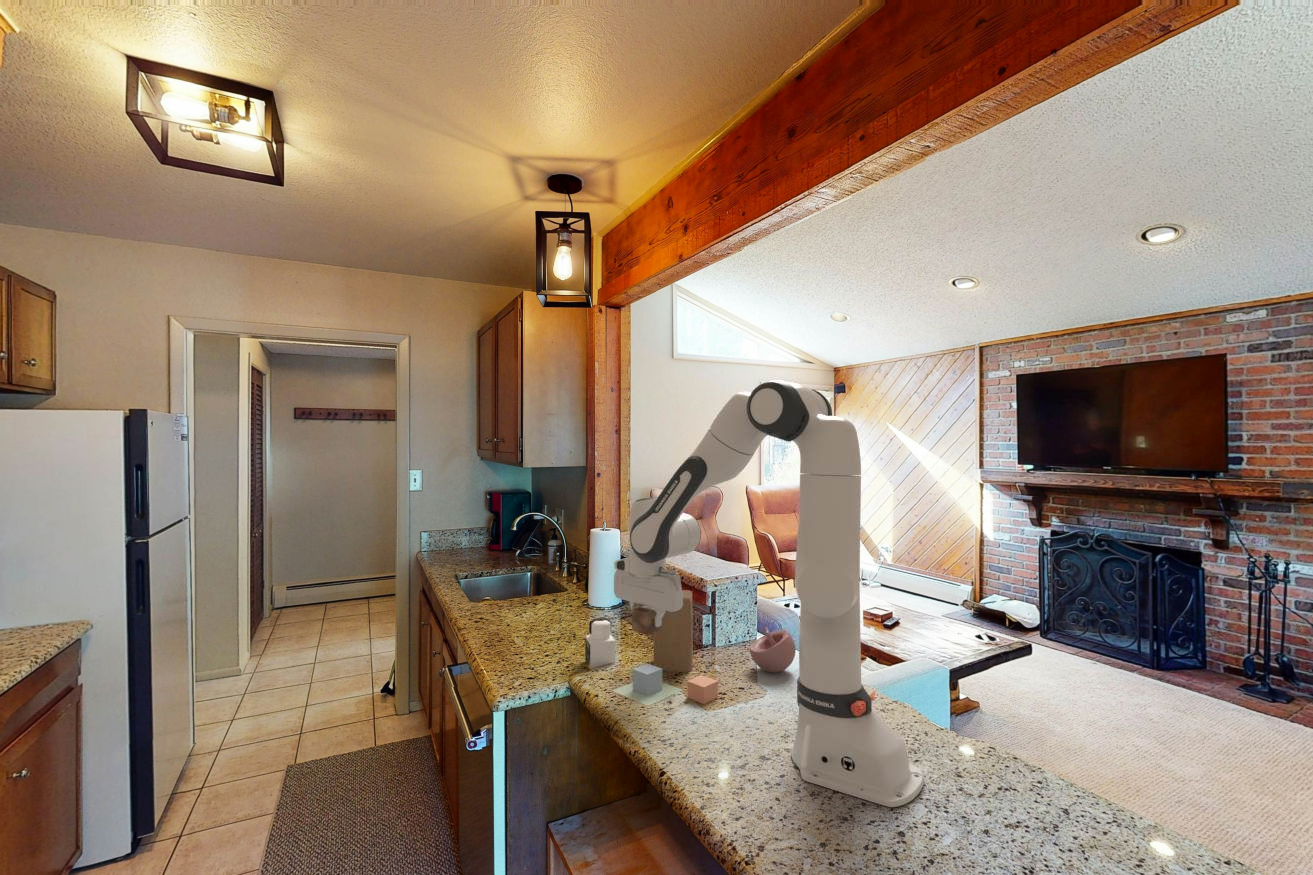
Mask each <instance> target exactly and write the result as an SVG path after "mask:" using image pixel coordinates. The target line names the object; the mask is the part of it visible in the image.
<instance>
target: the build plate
mask: <svg viewBox="0 0 1313 875" xmlns="http://www.w3.org/2000/svg"><path fill="white" fill-rule="evenodd" d="M682 691H683V689H682V688H680V687H676V686H673V685H670V684H669V683H665V682H663V681H662V690H661V691H659V692H657V693H655V694H652V695H650V696H648V697H647V696H645V695H642V694H640V693H638V692H635V691H633V681H631V682H630V683H627V684H625V685H622V686H620V687H617V688H615V689H613V690H611V692H614V693H616V694H618V695H621V696H622V697H624V698H625V697H626V698H627V699H630V700H632V701H635V702H637V703H640V704H642V705H644V706H646V707H649V706H651V705H653V704H655V703H657V702H660V701H662V700H665V699H666V698H669V697H671V696H674V695H675V694H678V693H680V692H682Z"/></svg>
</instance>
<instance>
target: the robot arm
mask: <svg viewBox="0 0 1313 875" xmlns="http://www.w3.org/2000/svg"><path fill="white" fill-rule="evenodd" d="M768 436H770V437H771V438H772V437H774V438H777V439H779V440H782V441H784V442H789V443H790V442H792V441H793V443H795V444H796V445H797V448H798V449H799V456H800V462H799V464H800V467H799V470H800V471H799V506H798V507H799V508H798V509H799V510H798V512H799V514H798V526H797V538H796V552H795V553H796V554H795V555H796V556H795V572H794V587H795V592H796V595H797V597H798V599H799V601H800V612H799V613H800V615H799V630H798V631H799V633H798V656H799V657H798V658H799V659H798V660H799V661H798V662H799V663H798V664H799V666H798V667H799V669H798V671H799V674H798V675H799V676H798V677H797V680H796V682H797V683H796V684H797V685H796V701H797V706H798V718H797V725H796V726H797V727H796V733H795V739H794V742H793V747H792V749H791V759H792V762H793V763H794V765H796V767H797V768H798V769H799V773H800V777H801V778H802V780H803V781H805V782H808V783H811V784H815V785H818V786H821V787H823V788H824V787H825V788H827V789H830V790H833V791H836V792H840V793H843V794H846V795H849V796H852V797H856V798H858V799H862V800H864V801H865V800H866V801H869V802H872V803H875V804H878V805H881V806H884V807H888V808H895V807H897V808H898V807H901V806H903V805H904V806H905V805H906V804H908V803H911V801H912V800H914V799H915V798H916V797H917V796H918V795H919V793H920V792H921V791H922V789H923V786H924V775H923V771H922V770H921V768H920V767H918V766H915V765H914V764H912V763H910V761H909V756H908V750H907V746H906V743H905V741H904V740H903V738H902V737H901V736H900V734H898V733H897V731H894V729H892V727H890V725H889V724H888V723H887V722H885V721H884V720H883V718H881V717H880V716H879V715H878V714H877V712H875V711H874V710H873V708H872V707H873V706H872V704H873V703H872V702H873V701H874V700H875V699H876V697H875V695H876V692H875V691H873V692H872V693H871V694H869V693H868V692H867V691H866V689H865V687H864V685H863V683H862V654H861V653H862V651H861V650H862V646H861V644H862V643H861V603H860V602H861V599H860V598H861V597H860V596H861V595H860V594H861V593H860V592H861V591H860V590H861V588H860V582H861V581H860V576H861V570H860V569H861V567H860V566H861V565H860V564H861V562H860V561H861V509H862V507H861V506H862V505H861V504H862V503H861V500H862V499H861V498H862V497H861V496H862V495H861V494H862V493H861V492H862V489H861V488H862V463H861V460H862V458H861V451H860V442H859V437H858V432H857V429H856V427H855V424H853V423H852V422H851V421H850V420H848V419H847V418H843V417H841V416H836V415H833V410H832V406H831V403H830V401H829V400H828V398H827V397H826V396H824V395H823V394H822V392H819V391H818V390H816V389H812V388H810V387H809V388H808V387H806V386H805V385H803V384H801V383H798V382H797V383H795V382H792V381H791V382H790V381H785V380H780V379H779V380H778V379H777V380H775V379H774V380H768V381H766V382H763V383H761V384H759V385H758V386H756V387H755V388H754V389H753V390H752V391H751V392H748V391H741V392H737V393H735V394H733V395H732V396H731V398H730V399H729V400H728V401H727V402H726V404H725V405H724V406H723V407H722V408H721V410H720V411H719V412H718V413H717V415H716V417H715V418H714V420H713V422H712V423H711V425H710V426H709V428H708V430H707V431H706V433H705V435H704V436H703V437H702V440H701V441H700V443H698V445H697V446H696V448H695V449H694V450H693V452H692V453H691V454H690V455H689V457H687V459H685V460H684V461H683V462H682V463H681V465H680V466H679V467H678V469H677V470H676V471H675V472H674V474H673V475H672V476H671V478H670V479H669V481H668V482H667V484H666V485H665V486H664V488H663V489H662V490H661V492H660V493H659V495H658V496H653V497H652V496H651V497H644V498H640V499H639V498H638V499H637V500H635V501H634V502H633V503H632V505H631V507H630V512H629V519H628V520H629V524H628V536H629V542H630V544H629V545H630V547H629V549H628V556H627V557H625V558H622V559H617V560H615V561H614V564H613V565H614V569H615V572H614V575H613V593H614V596H615V598H617V599H620V600H623V601H626V602H627V601H628V602H629V608H630V610H631V611H632V609H635V608H638V607H639V606H640V605H643V606H650V607H654V608H655V612H656V613H657V614H656V617H655V618H653V619H652V622H653V623H652V625H653V626H655V627H660V626H661V625H662V617H663V616H664V614H665V612H666V611H669V612H674V611H678V610H680V609H681V608H682V606H683V596H682V590H683V589H682V583H681V582H682V581H681V576H680V575H679V573H678V572H677V571H676V570H675V569H669V568H666V567H667V566H666V565H667V564H666V562H667V561H666V560H667V559H670V558H674V557H678V556H681V555H686V554H689V553H691V552H693V551H695V550H696V549H698V547H699V545H700V542H701V539H702V531H701V530H702V529H701V527H700V524H699V522H698V520H697V519H696V518H695V516H693V515H691V514H689V513H685V511H686V509H687V508H688V507H689V505H690V504H691V502H692V501H693V500H694V499H695V498H696V497H697V496H698V495H699V494H701V493H702V492H705V490H708V489H710V488H712V487H714V486H717V485H719V484H723V483H725V482H728V481H730V480H733V479H735V478H737V476H738V475H739V474H741V472H742V471H743V470H744V469H746V467H747V466H748V465H749V462H750V461H751V460H752V458H753V457H754V455H755V453H756V452H757V450H758V448H759V446H760V445H761V443H762V442H763V440H764V439H765V438H766V437H768Z"/></svg>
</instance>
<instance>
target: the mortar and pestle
mask: <svg viewBox="0 0 1313 875" xmlns="http://www.w3.org/2000/svg"><path fill="white" fill-rule="evenodd" d="M764 632H765V633H764V634H765V635H763V636H761V637H759V638H758V639H756V640H755V641H754V642H753V643H752V644H750V646H749V648H748V649H749V654H750V657H751V658H752V661H753V662H754V664H756V666H757V667H758V668H760V669H762V670H763V671H765V672H769V673H781V672H783V671H785V670H787V669H788V668H789V667H790V666H791V664H792V663H793V661H794V659H795V656H796V644H795V643H796V642H795V640H794V638H793V636H792V635H791V633H790V632H789V630H787V629H785V628H784V629H777V630H773V631H772V632H770V631H769V628H768V626H765V627H764Z"/></svg>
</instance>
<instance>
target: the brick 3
mask: <svg viewBox="0 0 1313 875" xmlns="http://www.w3.org/2000/svg"><path fill="white" fill-rule="evenodd" d="M686 685H687V687H686V688H687V695H686V696H687V698H688V699H690V700H692V701H695V702H697V703H700V704H702V705H706V704H707V703H710V702H712V701H713V700H716V699H718V698H719V680H716V679H713V678H711V677H708V676H705V675H698V676H696V677H694V678H692V679H688V680H687V683H686Z"/></svg>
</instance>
